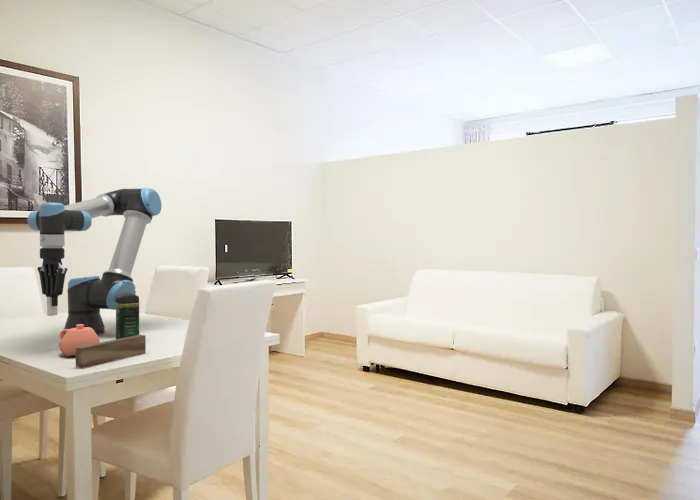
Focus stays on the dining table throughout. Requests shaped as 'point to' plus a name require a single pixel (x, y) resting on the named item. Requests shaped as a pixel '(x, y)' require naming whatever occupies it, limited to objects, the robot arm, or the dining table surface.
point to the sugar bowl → (76, 339)
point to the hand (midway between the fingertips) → (52, 315)
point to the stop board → (110, 350)
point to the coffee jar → (127, 315)
